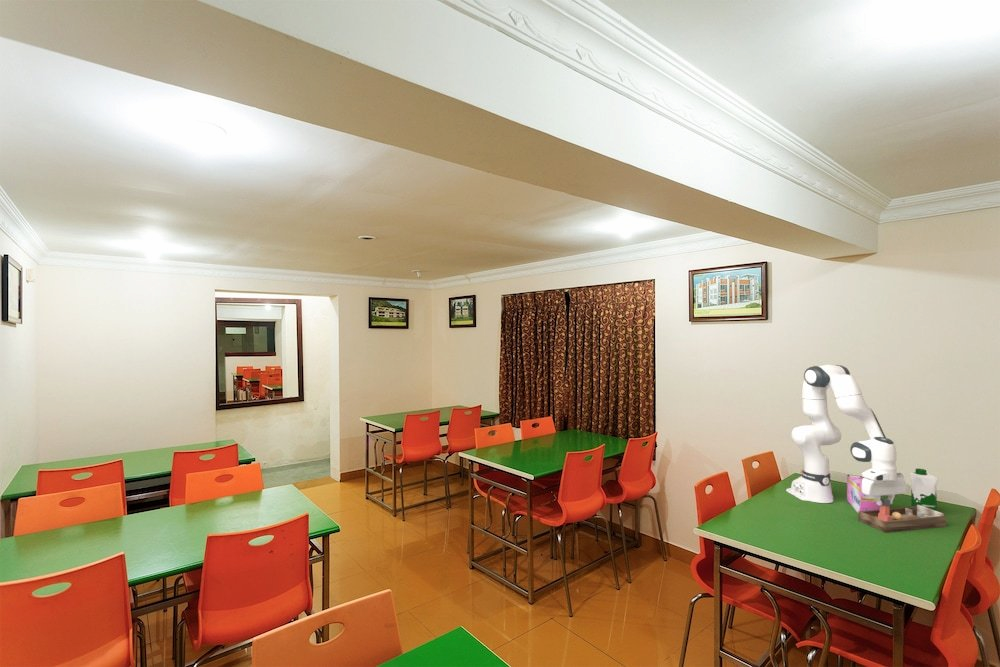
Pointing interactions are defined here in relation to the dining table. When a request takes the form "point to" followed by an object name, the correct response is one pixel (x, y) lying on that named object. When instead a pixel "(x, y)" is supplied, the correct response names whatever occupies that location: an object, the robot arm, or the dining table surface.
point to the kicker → (884, 510)
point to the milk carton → (923, 489)
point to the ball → (896, 515)
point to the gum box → (859, 495)
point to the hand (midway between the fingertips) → (884, 504)
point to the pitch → (904, 519)
